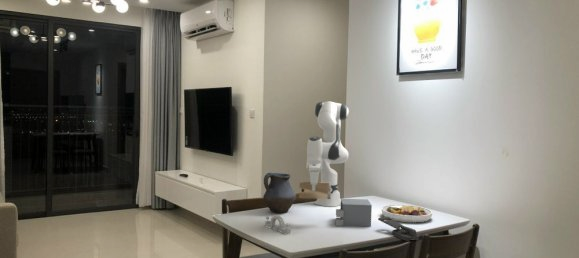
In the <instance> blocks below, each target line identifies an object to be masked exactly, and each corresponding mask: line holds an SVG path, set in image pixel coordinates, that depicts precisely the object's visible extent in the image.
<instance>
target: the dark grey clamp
mask: <svg viewBox="0 0 579 258" xmlns="http://www.w3.org/2000/svg"><path fill="white" fill-rule="evenodd" d="M377 220H378V221H380V222H382V223H383V224H386V225H388V226H390V227H392V228H393V230H391V234H392V236H394V237H396V238H399V239H401V240H403V241H407V242H410V241H409V240H411V239H415V240H416V241H415V242H417V241H419V240H420V235H419V234H418V233H417V231H416V229H414V228H412V227H409V226H407V225H406V226H405V225H403V224H401V222H400V223H399V221H395V220H393V219H392V218H390V217H385V216H381V217H378V218H377Z"/></svg>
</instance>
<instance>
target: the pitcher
mask: <svg viewBox="0 0 579 258" xmlns="http://www.w3.org/2000/svg"><path fill="white" fill-rule="evenodd" d="M263 177H264V178H263V186H264V189H265V192H264V193H263V197H262V198H263V200H264V202H265V204H266V206H267V207H268V209H269V211H270V212H271V213H274V214H286V213H288V212H289V211H290V208H291V207H292V206H293V203H295V201H296V199H297V194H296V193H295V191H294V190H293V188H292V186H291V183H290V178H291V174H289V173H282V172H281V173H279V172H267V173H266V174H265V175H264V176H263ZM269 179H270V182H269Z"/></svg>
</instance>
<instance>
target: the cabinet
mask: <svg viewBox="0 0 579 258" xmlns="http://www.w3.org/2000/svg"><path fill="white" fill-rule="evenodd" d="M340 202H341V205H340V207H339V208H335V216H336V217H335V226H336V227H344V226H346V227H347V226H351V227H352V226H353V227H355V226H356V227H372V209H373V208H372V207H373V205H372V203H371V202H370V200H369V199H368V198H367V199H365V198H364V199H363V198H340Z"/></svg>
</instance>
